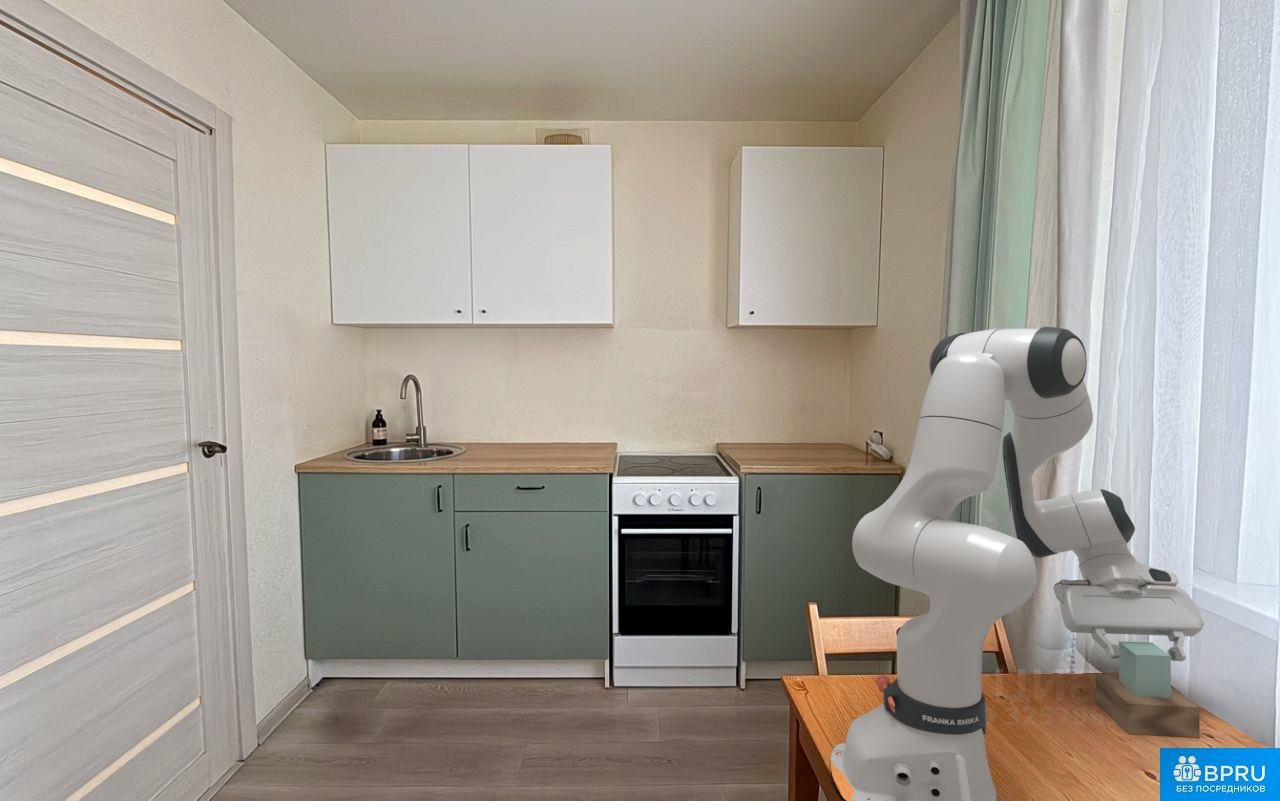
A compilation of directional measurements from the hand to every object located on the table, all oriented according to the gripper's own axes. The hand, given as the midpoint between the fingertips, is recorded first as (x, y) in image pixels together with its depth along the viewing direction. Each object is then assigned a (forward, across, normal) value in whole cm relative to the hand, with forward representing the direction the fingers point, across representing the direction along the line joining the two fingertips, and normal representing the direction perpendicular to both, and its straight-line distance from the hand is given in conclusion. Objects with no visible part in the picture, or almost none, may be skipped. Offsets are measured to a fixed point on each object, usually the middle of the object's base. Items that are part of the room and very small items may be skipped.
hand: (1146, 658), depth 105 cm
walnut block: (+7, 0, +8) cm, 11 cm away
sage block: (+4, 0, +4) cm, 6 cm away
